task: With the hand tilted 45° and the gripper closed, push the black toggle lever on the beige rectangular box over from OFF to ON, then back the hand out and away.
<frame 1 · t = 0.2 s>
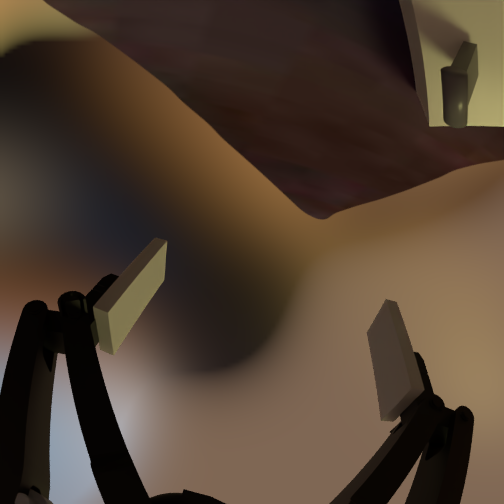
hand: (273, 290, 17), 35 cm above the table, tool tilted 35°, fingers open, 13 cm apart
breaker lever: (463, 77, 19), point 14 cm above the table, hinge at -30.0°
beige rectangular box: (446, 31, 25), on the table
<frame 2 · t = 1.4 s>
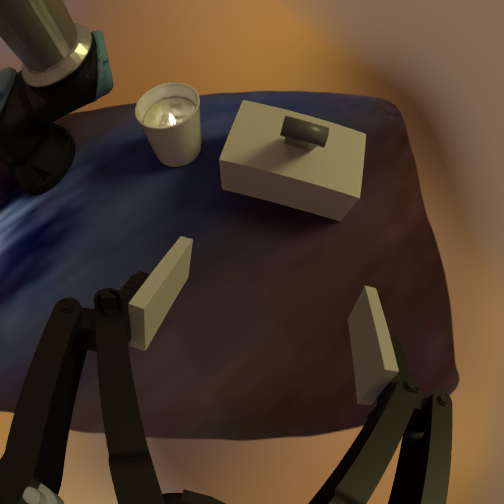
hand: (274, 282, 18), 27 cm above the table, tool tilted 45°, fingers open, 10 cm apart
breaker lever: (301, 136, 36), point 14 cm above the table, hinge at -30.0°
candle holder: (178, 148, 51), on the table
beige rectangular box: (289, 173, 51), on the table
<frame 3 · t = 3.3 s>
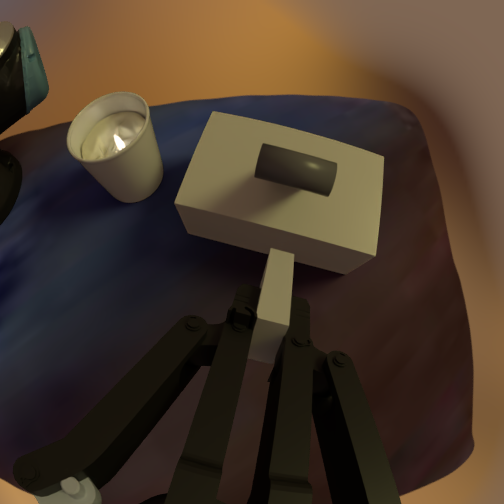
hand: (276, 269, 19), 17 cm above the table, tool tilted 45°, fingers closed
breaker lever: (292, 171, 24), point 14 cm above the table, hinge at -30.0°
candle holder: (135, 177, 39), on the table
beige rectangular box: (278, 209, 39), on the table
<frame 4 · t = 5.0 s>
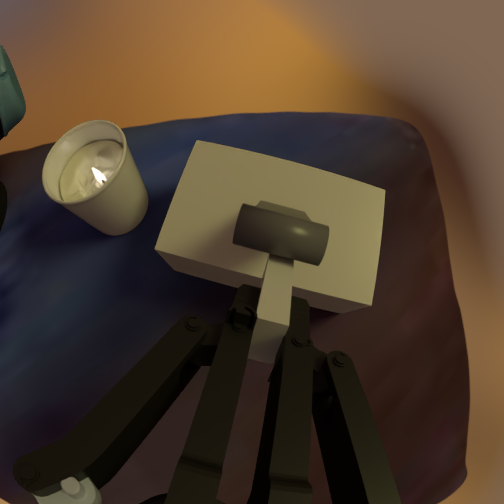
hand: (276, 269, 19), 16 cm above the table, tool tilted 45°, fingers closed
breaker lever: (280, 223, 22), point 14 cm above the table, hinge at -30.0°, touching gripper
candle holder: (120, 206, 37), on the table
beige rectangular box: (270, 244, 36), on the table
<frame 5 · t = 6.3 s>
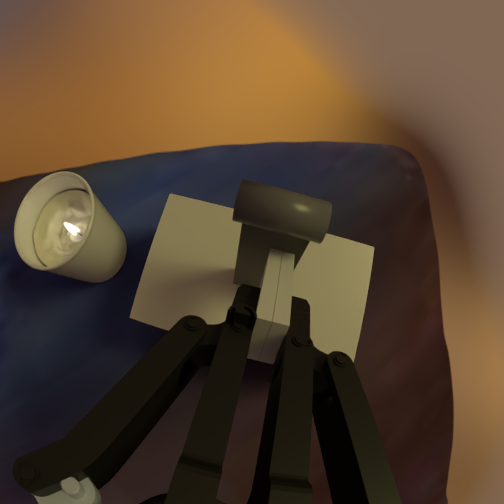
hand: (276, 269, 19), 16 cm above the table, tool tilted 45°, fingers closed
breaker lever: (269, 249, 21), point 15 cm above the table, hinge at 13.6°, touching gripper
candle holder: (98, 251, 35), on the table
beige rectangular box: (251, 295, 35), on the table
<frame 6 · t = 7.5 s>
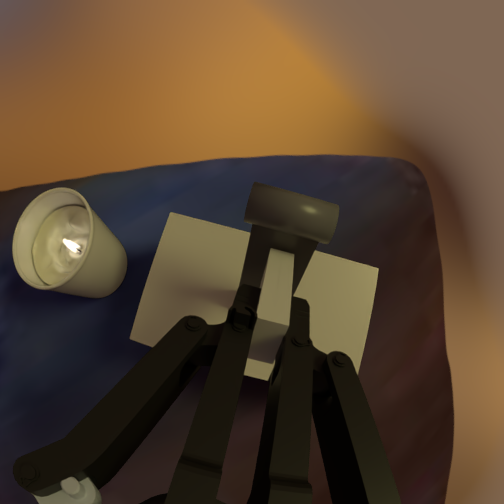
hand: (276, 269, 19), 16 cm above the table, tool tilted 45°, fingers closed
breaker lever: (275, 260, 21), point 15 cm above the table, hinge at 26.3°, touching gripper
candle holder: (99, 266, 35), on the table
beige rectangular box: (253, 313, 34), on the table
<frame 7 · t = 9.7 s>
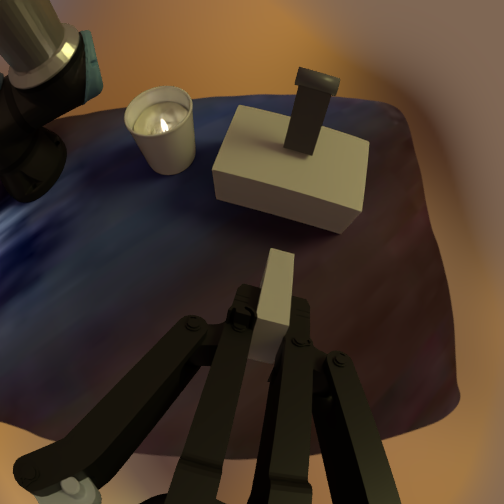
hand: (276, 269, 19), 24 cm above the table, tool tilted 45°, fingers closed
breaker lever: (308, 112, 35), point 15 cm above the table, hinge at 26.3°
candle holder: (172, 155, 49), on the table
beige rectangular box: (287, 183, 48), on the table
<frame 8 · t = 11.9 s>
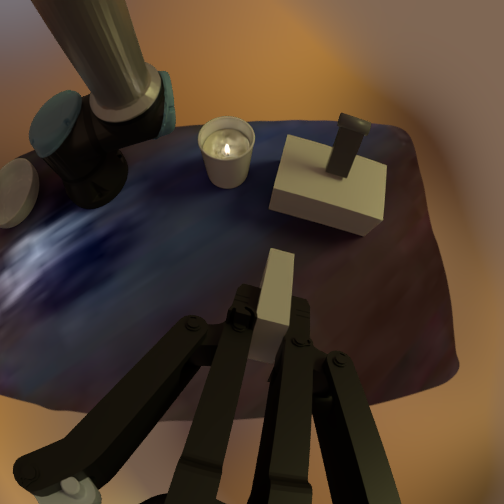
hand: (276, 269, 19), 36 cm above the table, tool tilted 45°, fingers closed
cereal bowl: (22, 202, 58), on the table
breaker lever: (346, 146, 47), point 15 cm above the table, hinge at 26.3°
candle holder: (227, 171, 62), on the table
beige rectangular box: (322, 196, 61), on the table
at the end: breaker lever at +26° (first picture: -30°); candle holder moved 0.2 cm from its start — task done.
